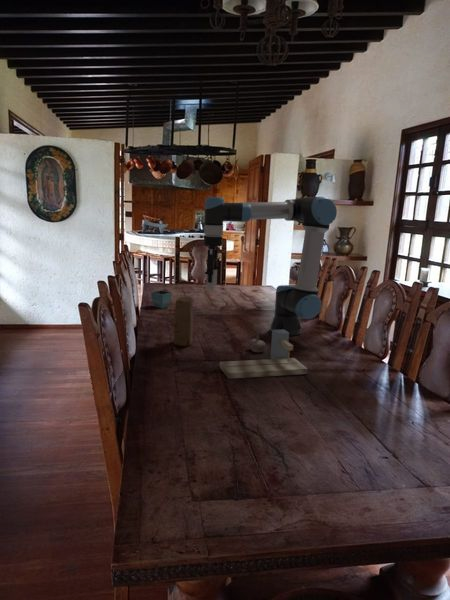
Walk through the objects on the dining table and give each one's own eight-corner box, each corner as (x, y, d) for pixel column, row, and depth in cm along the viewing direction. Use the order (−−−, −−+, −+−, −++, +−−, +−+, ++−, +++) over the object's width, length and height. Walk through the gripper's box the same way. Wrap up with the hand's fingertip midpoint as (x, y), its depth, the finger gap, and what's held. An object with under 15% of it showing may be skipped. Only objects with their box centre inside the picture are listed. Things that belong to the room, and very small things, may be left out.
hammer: (282, 358, 182) (284, 329, 180) (295, 369, 170) (297, 338, 168) (270, 358, 181) (272, 329, 178) (282, 370, 169) (285, 339, 166)
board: (293, 362, 177) (294, 357, 177) (307, 373, 166) (307, 368, 165) (219, 366, 169) (219, 361, 169) (228, 378, 158) (228, 372, 157)
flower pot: (172, 307, 266) (172, 292, 264) (162, 309, 258) (162, 294, 256) (160, 305, 270) (160, 290, 268) (150, 307, 263) (150, 292, 261)
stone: (189, 347, 191) (191, 301, 187) (172, 346, 191) (173, 300, 187) (194, 340, 201) (195, 296, 197) (177, 339, 202) (178, 295, 198)
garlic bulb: (257, 347, 196) (258, 329, 194) (270, 351, 191) (271, 332, 189) (245, 350, 191) (246, 331, 189) (258, 354, 186) (259, 335, 184)
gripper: (207, 233, 196) (206, 282, 201) (200, 237, 172) (198, 292, 176) (225, 234, 196) (223, 283, 200) (219, 238, 172) (217, 293, 176)
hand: (211, 287), depth 188 cm, fingers open, 13 cm apart
